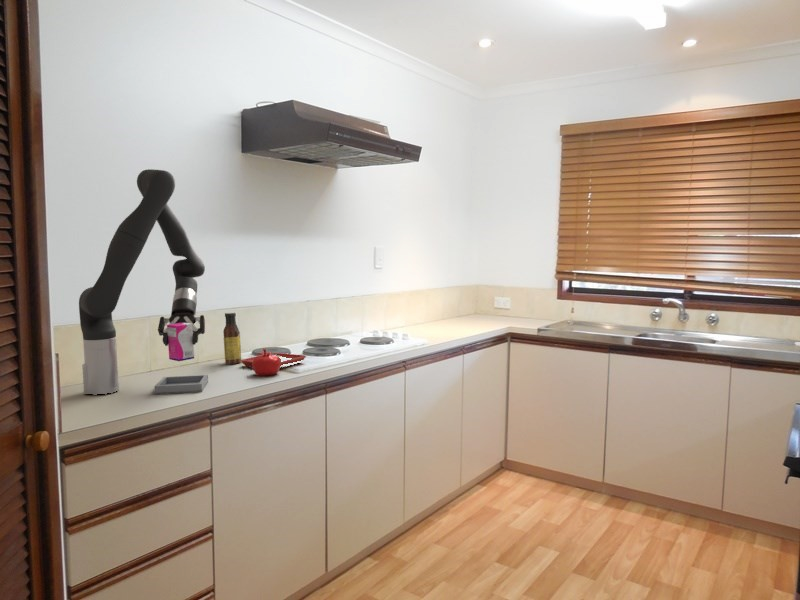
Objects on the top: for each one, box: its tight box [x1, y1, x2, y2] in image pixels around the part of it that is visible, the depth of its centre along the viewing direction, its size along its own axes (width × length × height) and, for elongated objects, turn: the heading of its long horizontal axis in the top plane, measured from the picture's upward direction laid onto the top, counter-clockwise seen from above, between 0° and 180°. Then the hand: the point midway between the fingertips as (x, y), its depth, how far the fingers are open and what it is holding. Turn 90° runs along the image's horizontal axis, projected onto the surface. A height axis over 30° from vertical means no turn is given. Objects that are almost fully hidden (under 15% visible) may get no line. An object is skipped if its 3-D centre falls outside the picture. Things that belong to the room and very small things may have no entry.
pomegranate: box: [251, 348, 281, 377], centre depth 210 cm, size 10×10×9 cm
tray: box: [153, 374, 209, 395], centre depth 191 cm, size 14×14×2 cm
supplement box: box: [166, 323, 195, 362], centre depth 190 cm, size 6×6×12 cm
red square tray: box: [240, 352, 307, 368], centre depth 228 cm, size 18×18×3 cm
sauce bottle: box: [223, 311, 242, 365], centre depth 232 cm, size 7×6×20 cm
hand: (180, 343), depth 189 cm, fingers closed on supplement box, 8 cm apart
